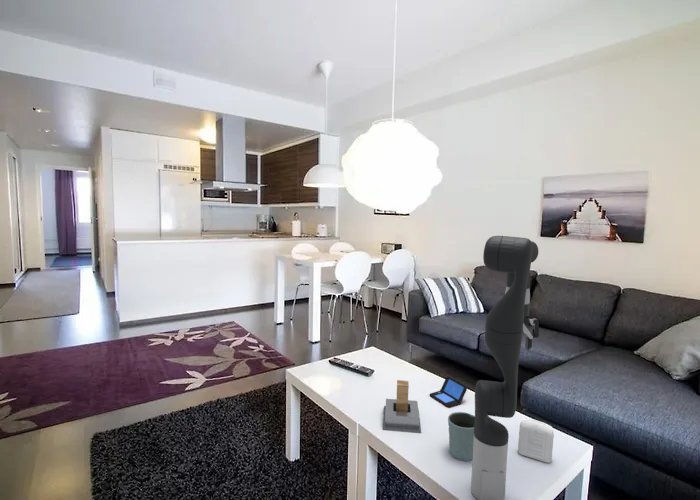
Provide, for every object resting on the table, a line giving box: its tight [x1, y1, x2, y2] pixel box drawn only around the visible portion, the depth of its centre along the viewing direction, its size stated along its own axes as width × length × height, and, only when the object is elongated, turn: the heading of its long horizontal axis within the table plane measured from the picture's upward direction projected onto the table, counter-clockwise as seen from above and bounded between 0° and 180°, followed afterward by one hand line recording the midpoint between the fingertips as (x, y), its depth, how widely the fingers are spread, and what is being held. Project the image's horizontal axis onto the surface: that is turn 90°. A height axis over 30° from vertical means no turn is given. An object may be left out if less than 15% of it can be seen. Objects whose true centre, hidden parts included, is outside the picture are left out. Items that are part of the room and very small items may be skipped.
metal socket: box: [382, 398, 422, 434], centre depth 146 cm, size 16×14×5 cm
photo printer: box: [517, 418, 555, 464], centre depth 125 cm, size 10×4×12 cm, turn 60°
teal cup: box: [447, 411, 475, 462], centre depth 126 cm, size 10×10×12 cm
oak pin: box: [396, 379, 410, 412], centre depth 146 cm, size 4×4×14 cm
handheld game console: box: [429, 376, 468, 409], centre depth 163 cm, size 12×11×7 cm
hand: (514, 348), depth 125 cm, fingers open, 8 cm apart
